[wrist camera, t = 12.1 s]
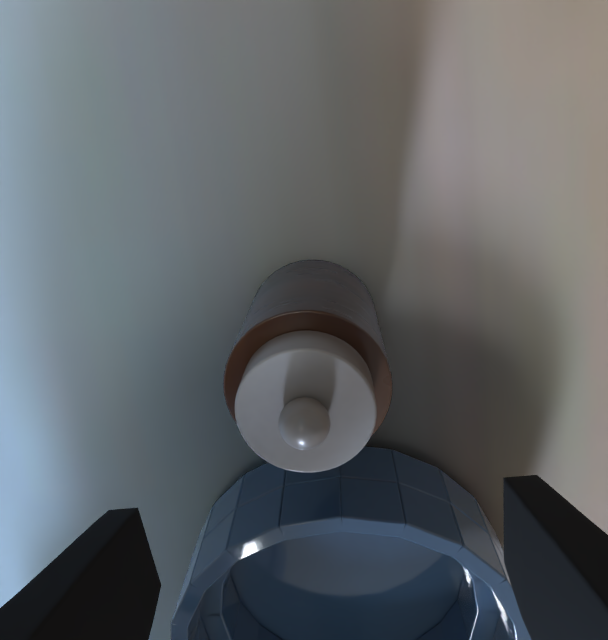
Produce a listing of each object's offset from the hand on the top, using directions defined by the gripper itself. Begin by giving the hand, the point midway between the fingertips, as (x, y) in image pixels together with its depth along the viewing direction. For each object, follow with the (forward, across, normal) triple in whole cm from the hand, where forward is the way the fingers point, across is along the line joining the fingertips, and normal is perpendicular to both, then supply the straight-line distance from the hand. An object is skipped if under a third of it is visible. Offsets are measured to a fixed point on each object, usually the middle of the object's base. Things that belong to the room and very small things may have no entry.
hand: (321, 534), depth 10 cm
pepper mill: (+9, 0, -1) cm, 9 cm away
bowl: (+9, 0, +10) cm, 13 cm away
